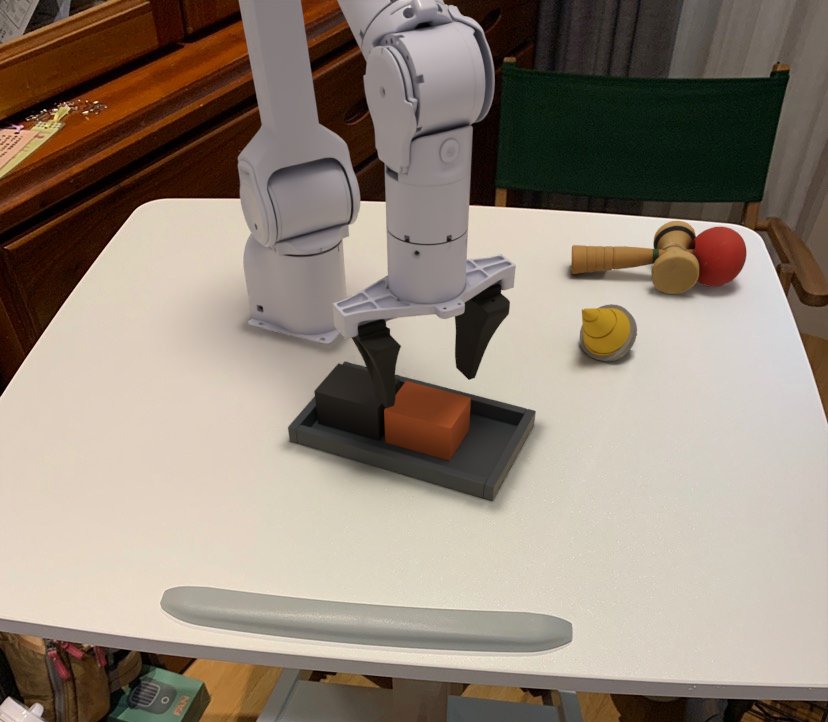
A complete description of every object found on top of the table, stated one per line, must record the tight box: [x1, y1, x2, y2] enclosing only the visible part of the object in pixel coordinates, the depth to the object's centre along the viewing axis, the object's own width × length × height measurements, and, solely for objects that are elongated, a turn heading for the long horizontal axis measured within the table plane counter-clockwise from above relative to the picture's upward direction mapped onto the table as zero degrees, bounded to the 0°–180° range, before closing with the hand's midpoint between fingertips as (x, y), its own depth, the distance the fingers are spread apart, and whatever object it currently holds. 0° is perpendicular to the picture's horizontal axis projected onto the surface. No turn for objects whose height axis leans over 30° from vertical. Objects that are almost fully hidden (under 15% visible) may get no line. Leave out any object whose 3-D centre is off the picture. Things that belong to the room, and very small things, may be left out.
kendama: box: [570, 220, 747, 295], centre depth 88 cm, size 8×6×18 cm
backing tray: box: [287, 360, 537, 502], centre depth 71 cm, size 19×11×2 cm, turn 66°
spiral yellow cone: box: [579, 303, 638, 363], centre depth 77 cm, size 5×5×10 cm
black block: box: [313, 362, 400, 441], centre depth 72 cm, size 6×4×4 cm
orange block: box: [384, 381, 471, 461], centre depth 70 cm, size 6×4×4 cm
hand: (426, 386), depth 67 cm, fingers open, 7 cm apart
